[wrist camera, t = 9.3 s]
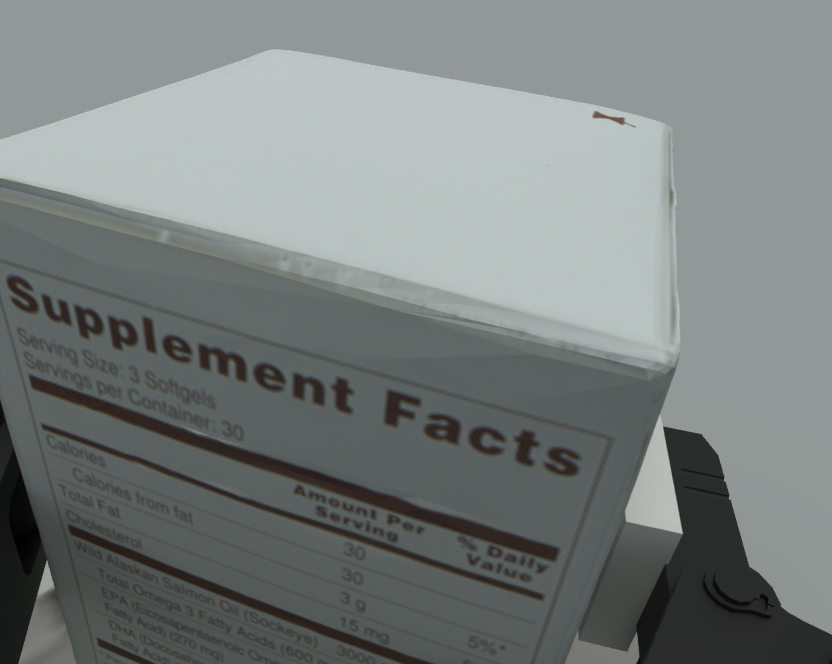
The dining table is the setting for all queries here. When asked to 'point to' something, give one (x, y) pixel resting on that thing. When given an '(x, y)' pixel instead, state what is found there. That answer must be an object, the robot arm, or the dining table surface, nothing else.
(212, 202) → the supplement box
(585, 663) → the dining table surface
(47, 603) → the dining table surface
